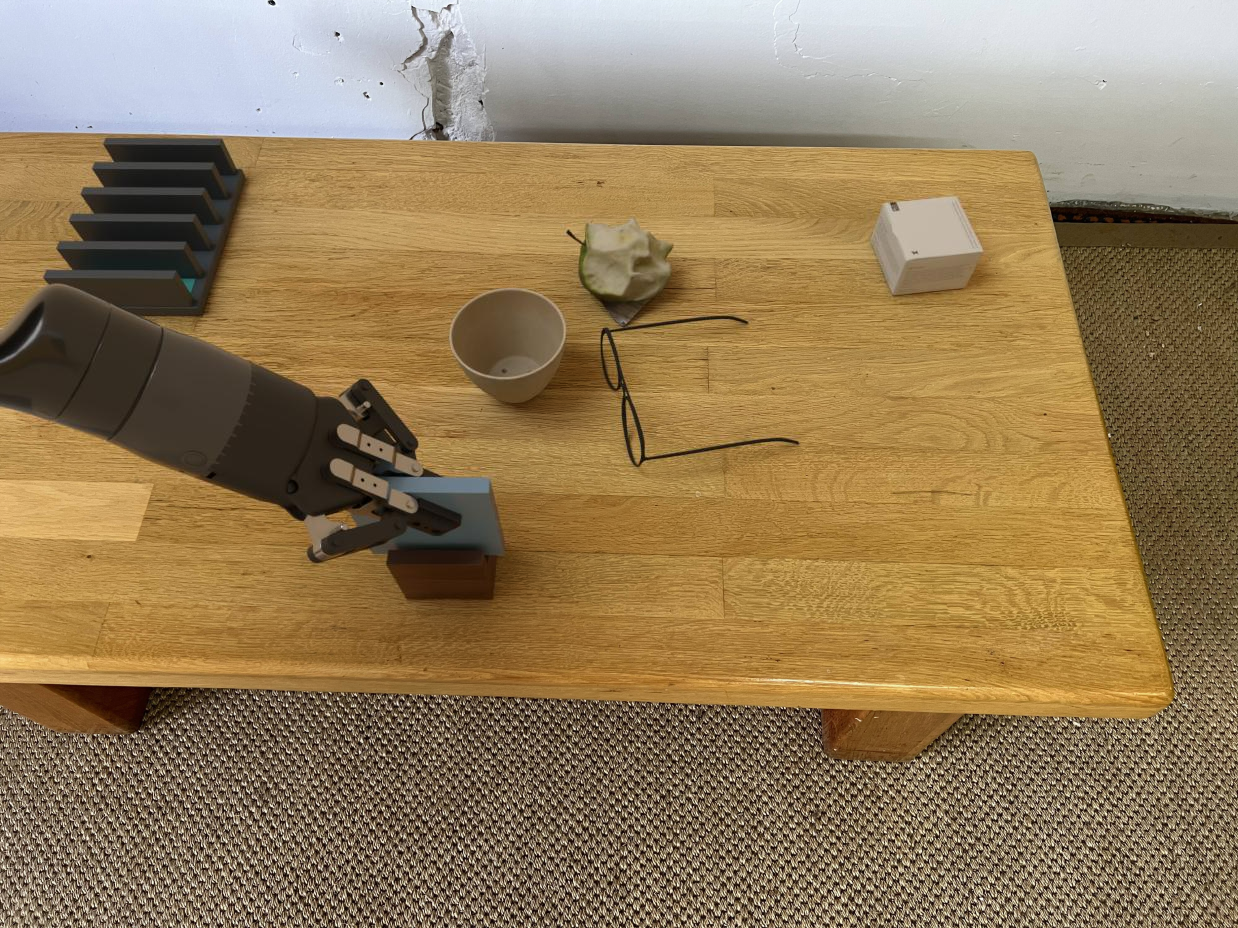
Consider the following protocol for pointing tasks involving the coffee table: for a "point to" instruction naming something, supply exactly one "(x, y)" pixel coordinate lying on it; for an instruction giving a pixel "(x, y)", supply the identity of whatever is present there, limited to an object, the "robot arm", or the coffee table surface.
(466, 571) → the stand
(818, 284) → the coffee table surface
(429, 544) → the plate
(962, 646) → the coffee table surface
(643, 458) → the glasses
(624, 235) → the fruit
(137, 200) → the rack
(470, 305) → the flower pot
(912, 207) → the small box
